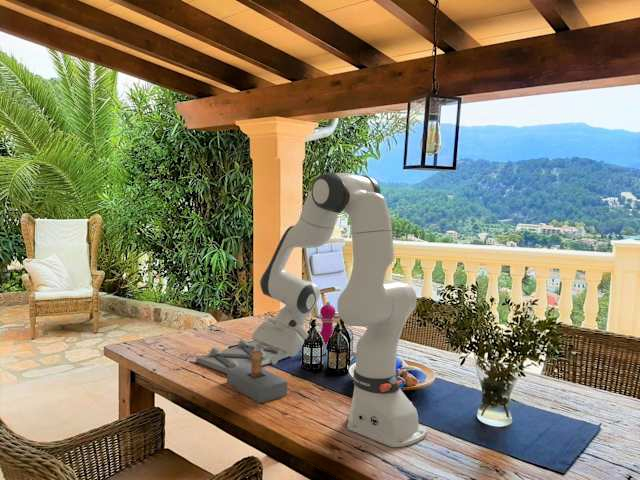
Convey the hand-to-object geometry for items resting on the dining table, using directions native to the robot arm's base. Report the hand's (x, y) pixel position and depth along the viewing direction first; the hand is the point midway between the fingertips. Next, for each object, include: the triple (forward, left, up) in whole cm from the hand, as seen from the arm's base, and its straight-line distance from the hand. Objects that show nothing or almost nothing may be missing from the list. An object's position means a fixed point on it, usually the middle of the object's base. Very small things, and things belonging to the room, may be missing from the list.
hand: (263, 359), depth 163 cm
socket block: (0, +3, -9) cm, 10 cm away
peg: (0, +2, -9) cm, 10 cm away
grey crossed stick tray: (+26, -9, -10) cm, 29 cm away
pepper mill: (+17, -40, -9) cm, 45 cm away
